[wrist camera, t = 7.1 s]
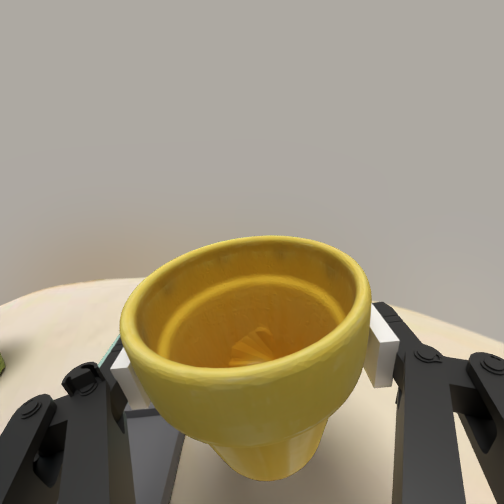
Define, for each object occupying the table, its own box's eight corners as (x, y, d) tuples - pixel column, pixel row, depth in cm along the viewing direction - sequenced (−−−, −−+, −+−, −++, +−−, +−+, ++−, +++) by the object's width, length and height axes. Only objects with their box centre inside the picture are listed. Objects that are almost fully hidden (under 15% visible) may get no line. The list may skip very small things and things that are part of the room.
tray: (-61, 636, 14) (-79, 629, 13) (77, 418, 25) (71, 409, 24) (141, 625, 13) (131, 617, 12) (191, 406, 24) (187, 396, 23)
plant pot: (225, 336, 21) (201, 232, 17) (353, 358, 17) (363, 232, 13) (140, 486, 12) (47, 344, 8) (363, 591, 9) (400, 435, 5)
